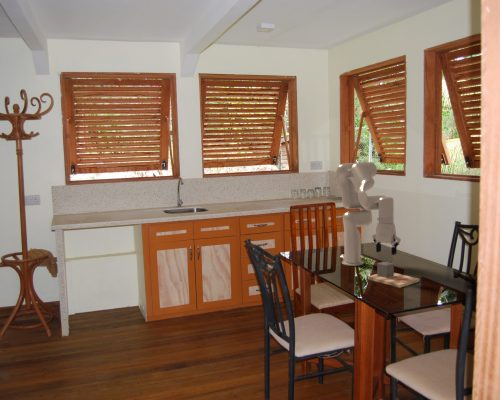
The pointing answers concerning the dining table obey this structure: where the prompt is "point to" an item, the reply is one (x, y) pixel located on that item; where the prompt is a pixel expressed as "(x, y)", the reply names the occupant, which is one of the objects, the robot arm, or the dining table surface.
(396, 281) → the board
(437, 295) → the dining table surface
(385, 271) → the gray cube
